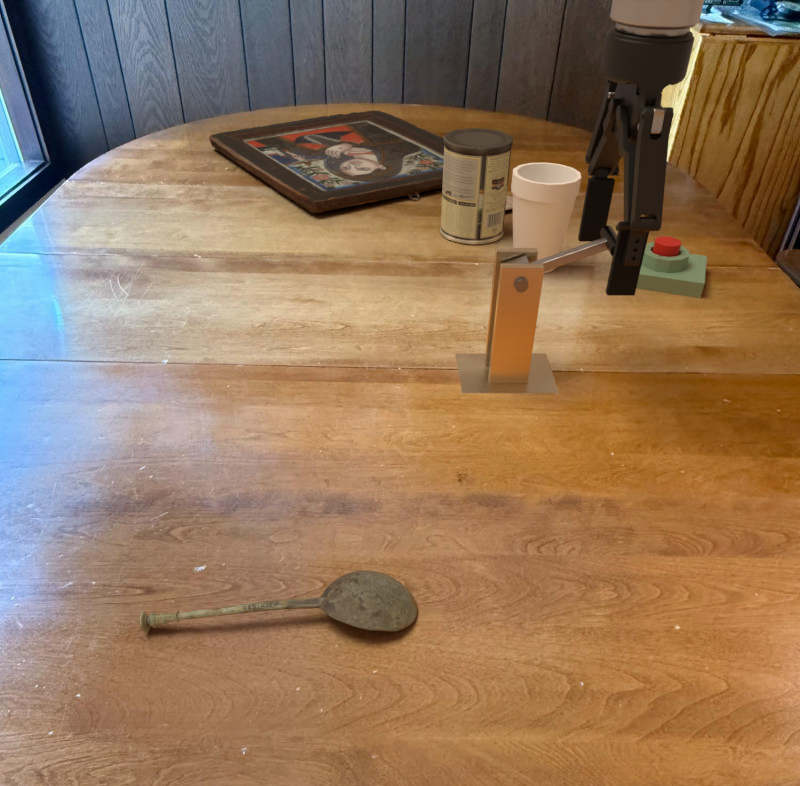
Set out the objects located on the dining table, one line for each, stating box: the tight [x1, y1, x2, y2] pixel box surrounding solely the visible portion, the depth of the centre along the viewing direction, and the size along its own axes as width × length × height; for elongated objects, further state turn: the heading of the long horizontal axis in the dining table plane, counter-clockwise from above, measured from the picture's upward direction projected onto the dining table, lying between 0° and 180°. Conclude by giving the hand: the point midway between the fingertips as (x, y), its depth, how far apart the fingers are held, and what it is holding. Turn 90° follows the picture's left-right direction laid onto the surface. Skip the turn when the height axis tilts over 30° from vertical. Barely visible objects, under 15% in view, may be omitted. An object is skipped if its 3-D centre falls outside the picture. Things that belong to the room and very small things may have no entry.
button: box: [652, 236, 682, 257], centre depth 110 cm, size 4×4×2 cm
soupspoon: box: [138, 570, 419, 634], centre depth 62 cm, size 22×3×7 cm
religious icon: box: [208, 110, 444, 214], centre depth 148 cm, size 40×45×3 cm
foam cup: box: [510, 161, 582, 274], centre depth 111 cm, size 10×9×13 cm
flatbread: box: [505, 195, 513, 212], centre depth 133 cm, size 8×8×1 cm
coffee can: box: [439, 127, 514, 245], centre depth 119 cm, size 10×10×14 cm
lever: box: [503, 225, 618, 272], centre depth 81 cm, size 12×5×2 cm, turn 92°
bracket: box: [454, 247, 560, 395], centre depth 85 cm, size 11×9×15 cm
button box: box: [636, 241, 708, 299], centre depth 111 cm, size 12×10×4 cm
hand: (604, 265), depth 81 cm, fingers open, 13 cm apart
